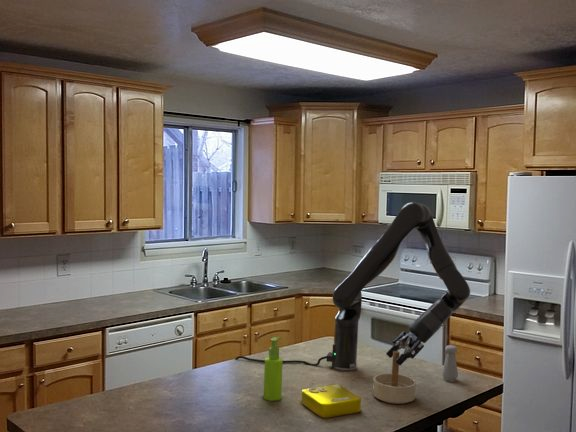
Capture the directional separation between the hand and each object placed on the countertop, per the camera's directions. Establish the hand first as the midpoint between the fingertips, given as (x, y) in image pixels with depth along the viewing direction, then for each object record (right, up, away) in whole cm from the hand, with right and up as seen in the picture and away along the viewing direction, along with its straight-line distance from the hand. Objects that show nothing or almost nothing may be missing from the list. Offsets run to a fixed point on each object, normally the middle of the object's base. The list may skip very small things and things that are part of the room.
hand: (392, 359), depth 199 cm
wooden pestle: (+1, -12, +1) cm, 12 cm away
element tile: (-22, -13, -10) cm, 27 cm away
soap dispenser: (-41, -12, -3) cm, 43 cm away
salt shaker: (+25, -13, +21) cm, 36 cm away
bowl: (+1, -13, +1) cm, 13 cm away
